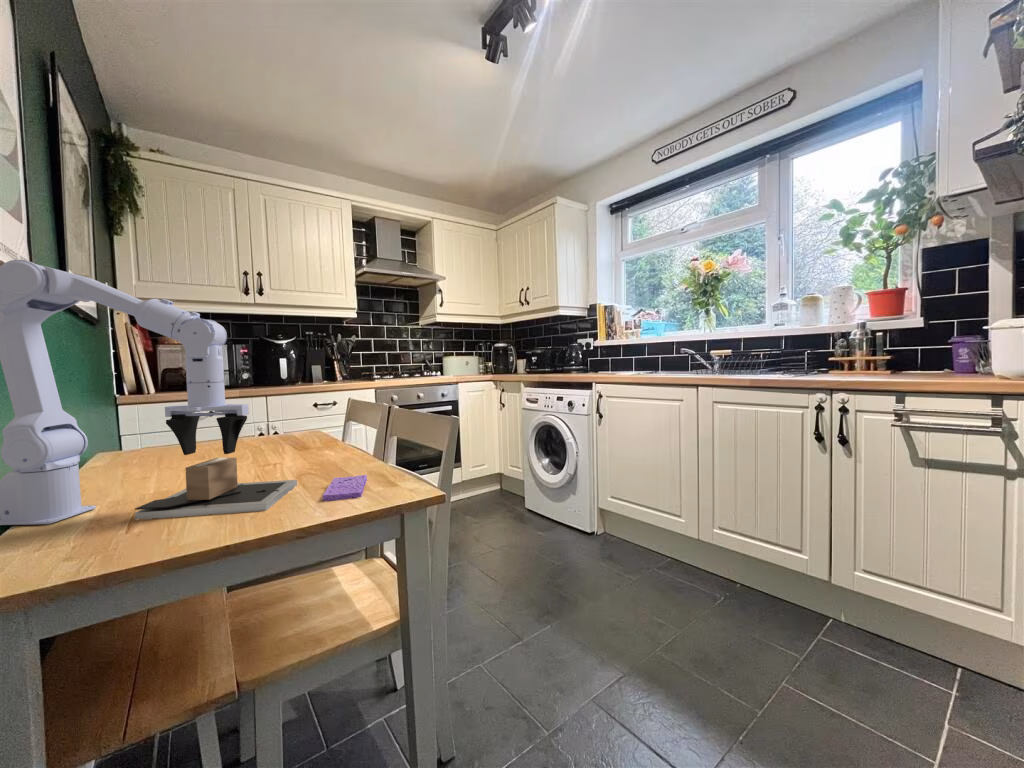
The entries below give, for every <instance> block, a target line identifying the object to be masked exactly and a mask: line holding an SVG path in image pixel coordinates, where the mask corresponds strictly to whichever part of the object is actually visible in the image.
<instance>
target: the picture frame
mask: <svg viewBox="0 0 1024 768" xmlns="http://www.w3.org/2000/svg"><path fill="white" fill-rule="evenodd" d="M237 486H238V487H236V488H234V489H232V490H230V491H227V492H225V493H223V494H221V495H219V496H216V497H214V498H212V499H210V500H187V490H186V488H184V489H182V490H180V491H177V492H176V493H173V494H171V495H170V496H168V497H165V498H161V499H154V500H152V501H149V502H147V503H144V504H142V505H140V506H137V507H135V508H134V510H135V511H136V512H135V513H134V520H135V521H138V520H137V519H145V520H155V519H154V518H159V519H169V518H171V517H172V518H182V517H183V518H185V517H184V516H186V517H198V516H209V515H210V514H213V515H222V514H224V513H226V514H237V513H239V514H240V513H250V512H262V511H264V512H265V511H268V510H269V509H270V508H271V507H273V506H274V505H275V504H276V503H278V502H279V501H280V500H281V499H282V498H284V497H285V496H286V495H287V494H289V493H290V492H291V491H292V490H293V489H295V488H296V487H298V479H286V480H271V481H269V480H268V481H254V482H253V481H252V482H237ZM295 486H296V487H295ZM294 487H295V488H294ZM289 491H290V492H289ZM288 492H289V493H288ZM284 495H285V496H284ZM283 496H284V497H283ZM278 500H279V501H278ZM277 501H278V502H277ZM137 510H138V511H137ZM224 515H225V514H224ZM210 516H211V515H210ZM152 518H153V519H152ZM172 518H171V519H172Z"/></svg>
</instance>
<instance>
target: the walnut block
mask: <svg viewBox="0 0 1024 768" xmlns="http://www.w3.org/2000/svg"><path fill="white" fill-rule="evenodd" d="M237 464H238V463H237V457H215V458H212V459H209V460H205V461H202V462H198V463H196V464H193V465H189V466H187V467H185V483H186V485H185V487H186V488H185V489H186V490H187V500H210V499H212V498H214V497H216V496H219V495H221V494H223V493H225V492H227V491H230V490H232V489H234V488H236V487H238V486H237V483H238V469H237V468H238V465H237Z"/></svg>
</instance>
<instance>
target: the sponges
mask: <svg viewBox="0 0 1024 768" xmlns="http://www.w3.org/2000/svg"><path fill="white" fill-rule="evenodd" d="M366 481H367V482H368V475H367V474H362V475H355V476H352V475H351V476H344V477H333V479H332V480H331V483H330V484H329V485H328V487H327V488H326V490H325V491H324V492H323V494H322V500H323V501H324V502H332V501H340V500H341V499H343V500H350V499H349V498H352V499H358V498H357V497H361V498H362V496H363V494H364V490H365V488H364V486H365V487H366V485H367V483H366ZM365 484H366V485H365ZM363 489H364V490H363ZM362 493H363V494H362ZM361 495H362V496H361ZM341 501H342V500H341Z"/></svg>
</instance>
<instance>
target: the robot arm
mask: <svg viewBox="0 0 1024 768" xmlns="http://www.w3.org/2000/svg"><path fill="white" fill-rule="evenodd" d="M91 301H92V302H95V303H97V304H100V305H103V306H105V307H108V308H110V309H113V310H116V311H119V312H121V313H125V314H128V315H130V316H133V318H134V319H135V321H136V323H137V324H138V326H140V327H141V328H144V329H146V330H148V331H151V332H154V333H156V334H159V335H161V336H164V337H166V338H169V339H171V340H174V341H177V342H179V343H180V345H182V346H183V347H184V353H185V373H186V374H185V375H186V376H185V377H186V393H187V394H186V395H187V396H186V397H187V405H170V406H169V405H168V406H165V407H164V414H165V415H164V417H165V418H169V419H166V420H165V424H166V425H167V427H169V429H171V431H172V432H173V434H174V435H175V437H176V439H177V441H178V444H179V446H180V448H181V451H182V454H183V455H184V456H189V455H191V454H195V453H196V450H197V428H198V425H199V424H198V423H199V420H200V417H202V416H203V417H205V416H208V417H210V416H212V417H213V416H219V417H216V421H217V422H216V423H217V425H218V427H219V429H220V433H221V439H222V440H221V442H222V452H223V454H224V455H229V454H233V453H236V448H237V447H236V446H237V444H238V439H239V436H240V435H241V431H242V428H244V425H245V423H246V422H247V420H248V416H247V415H249V412H250V411H249V409H250V408H249V407H250V406H249V404H245V403H244V404H236V403H235V404H234V403H233V404H231V403H230V404H228V403H226V393H225V392H226V390H225V389H226V388H225V376H224V375H225V369H224V355H223V346H224V345H225V344H226V342H227V340H228V334H227V330H226V329H225V327H224V326H223V325H221V324H220V323H218V322H217V321H215V320H213V319H205V318H201V317H200V316H201V314H200V313H198V312H196V311H191V312H189V311H187V310H185V309H182V308H180V307H177V306H175V305H174V302H173V301H171V300H169V299H166V298H161V300H160V299H157V298H152V299H147V300H142V299H140V298H138V297H135V296H132V295H130V294H129V293H126V292H124V291H121V290H119V289H117V288H114V287H112V286H110V285H107V284H106V283H103V282H102V281H101V282H100V281H99V280H96V279H93V278H90V277H86V276H83V275H80V274H75V273H72V272H68V271H64V270H61V269H58V268H57V269H56V268H54V267H53V268H52V267H49V266H45V265H41V264H36V263H34V262H32V261H29V260H25V259H12V260H11V259H10V260H8V261H6V262H4V263H3V264H2V265H0V364H1V369H2V373H3V375H4V379H5V382H6V387H7V391H8V395H9V398H10V402H11V405H12V409H13V413H14V418H12V420H11V421H9V423H8V424H6V426H4V427H3V429H2V431H1V432H2V436H3V442H2V445H1V448H0V456H1V460H2V461H3V463H4V464H5V465H7V466H8V467H9V468H11V469H13V470H12V471H9V472H8V473H6V474H5V475H4V476H3V477H2V478H1V479H0V526H15V525H16V526H20V525H21V526H22V525H23V526H24V525H25V526H26V525H27V526H29V525H50V524H54V523H56V522H60V521H62V520H66V519H68V518H71V517H74V516H77V515H80V514H83V513H86V512H88V511H91V510H95V509H96V508H97V506H96V505H82V496H81V483H80V468H79V462H81V459H80V456H81V455H83V454H84V453H85V452H86V451H87V449H88V446H89V440H88V437H87V435H86V434H85V433H84V431H83V430H82V429H81V428H80V427H79V426H78V421H77V419H76V418H75V417H74V416H73V415H71V414H69V413H68V412H66V411H65V410H64V409H63V407H62V403H61V399H60V395H59V392H58V386H57V383H56V378H55V375H54V372H53V368H52V364H51V361H50V356H49V355H50V354H49V352H48V348H47V345H46V340H45V336H44V333H43V328H42V326H41V325H42V324H43V322H45V321H46V320H47V319H48V318H49V317H51V316H53V315H54V314H57V313H59V312H62V311H64V310H66V309H68V308H70V307H72V306H74V305H76V304H78V303H80V302H84V303H89V302H91ZM220 416H221V417H220Z"/></svg>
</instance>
